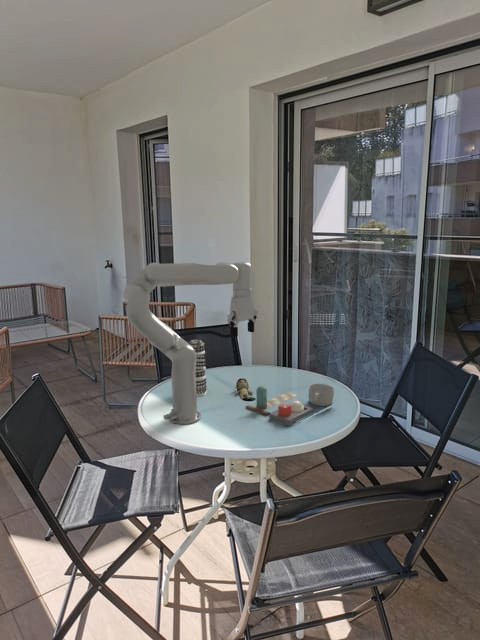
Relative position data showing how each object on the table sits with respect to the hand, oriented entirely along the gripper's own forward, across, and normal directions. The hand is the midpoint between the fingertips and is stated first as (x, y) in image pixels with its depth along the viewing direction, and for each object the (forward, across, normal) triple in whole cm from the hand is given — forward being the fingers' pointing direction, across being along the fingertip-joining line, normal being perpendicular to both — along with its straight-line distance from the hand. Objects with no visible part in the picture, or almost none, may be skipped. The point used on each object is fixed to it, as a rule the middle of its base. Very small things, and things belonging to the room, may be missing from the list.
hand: (242, 333), depth 197 cm
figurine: (+33, -10, -10) cm, 36 cm away
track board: (+32, -12, +7) cm, 35 cm away
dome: (+32, -9, +21) cm, 39 cm away
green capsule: (+31, -4, +7) cm, 32 cm away
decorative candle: (+32, +2, -28) cm, 43 cm away
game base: (+32, -6, +21) cm, 39 cm away
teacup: (+33, -23, +23) cm, 46 cm away
